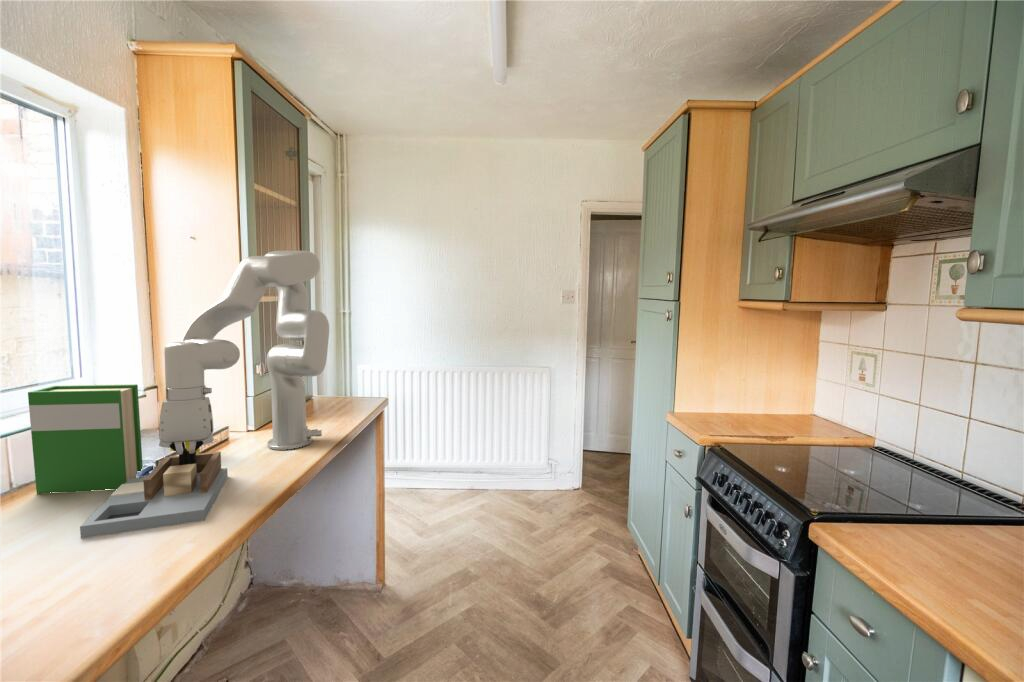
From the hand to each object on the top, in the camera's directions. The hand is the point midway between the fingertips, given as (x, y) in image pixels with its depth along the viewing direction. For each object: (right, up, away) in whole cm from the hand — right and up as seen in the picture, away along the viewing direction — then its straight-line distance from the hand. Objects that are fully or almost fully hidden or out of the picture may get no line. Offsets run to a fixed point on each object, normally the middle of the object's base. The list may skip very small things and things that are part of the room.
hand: (187, 468), depth 108 cm
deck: (0, -6, -8) cm, 10 cm away
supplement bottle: (-14, -3, +18) cm, 23 cm away
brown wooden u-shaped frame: (+2, -3, -3) cm, 4 cm away
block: (+3, -3, -6) cm, 8 cm away
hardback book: (-24, -5, +1) cm, 24 cm away
